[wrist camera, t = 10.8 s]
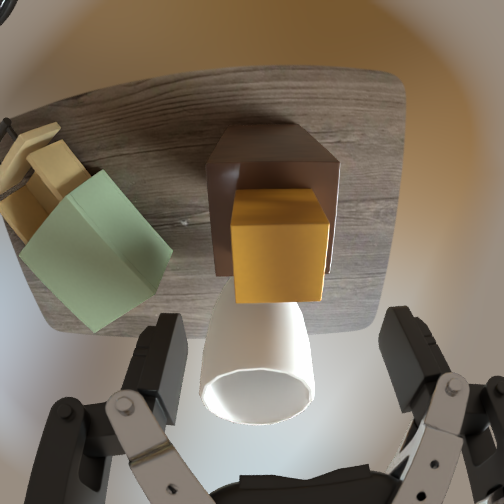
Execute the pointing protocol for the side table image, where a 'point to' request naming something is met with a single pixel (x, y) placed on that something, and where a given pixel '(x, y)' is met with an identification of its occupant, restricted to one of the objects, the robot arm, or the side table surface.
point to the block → (278, 245)
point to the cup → (256, 361)
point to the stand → (266, 177)
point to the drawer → (36, 177)
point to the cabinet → (97, 253)
